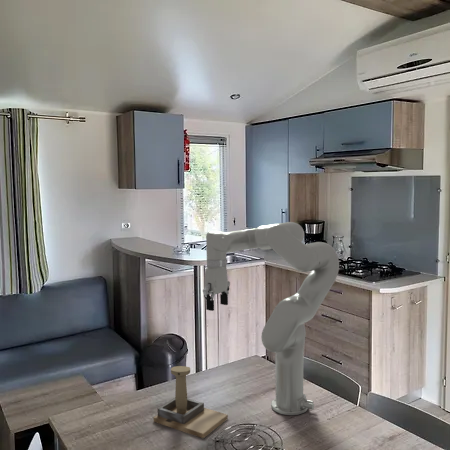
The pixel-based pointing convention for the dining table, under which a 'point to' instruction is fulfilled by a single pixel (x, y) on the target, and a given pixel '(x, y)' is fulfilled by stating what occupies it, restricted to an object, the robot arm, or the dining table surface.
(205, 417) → the subfloor panel
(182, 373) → the handle
